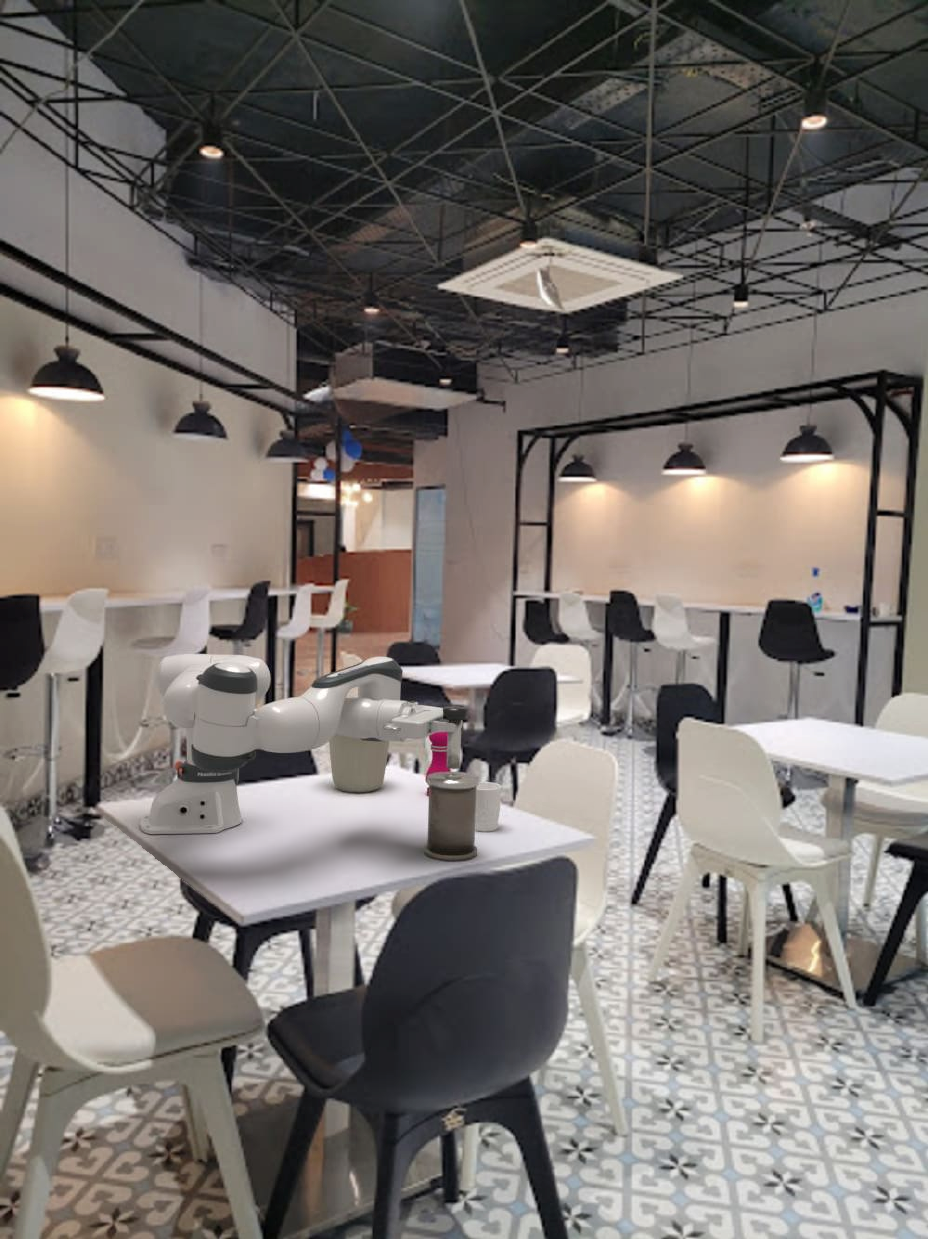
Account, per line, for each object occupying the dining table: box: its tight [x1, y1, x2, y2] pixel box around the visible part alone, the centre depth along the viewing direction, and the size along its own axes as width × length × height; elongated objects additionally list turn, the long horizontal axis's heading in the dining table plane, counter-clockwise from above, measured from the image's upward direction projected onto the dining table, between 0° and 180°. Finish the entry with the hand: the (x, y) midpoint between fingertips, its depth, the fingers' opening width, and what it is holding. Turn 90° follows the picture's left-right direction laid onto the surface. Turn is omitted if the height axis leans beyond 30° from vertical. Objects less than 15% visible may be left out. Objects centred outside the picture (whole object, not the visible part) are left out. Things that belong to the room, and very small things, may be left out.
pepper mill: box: [425, 732, 452, 797], centre depth 241 cm, size 7×7×20 cm
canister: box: [328, 734, 390, 793], centre depth 245 cm, size 18×18×21 cm
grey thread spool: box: [423, 771, 480, 862], centre depth 191 cm, size 11×11×17 cm
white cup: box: [475, 781, 502, 833], centre depth 211 cm, size 8×8×10 cm
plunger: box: [442, 705, 468, 770], centre depth 190 cm, size 5×5×13 cm
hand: (458, 725), depth 190 cm, fingers closed on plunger, 3 cm apart
